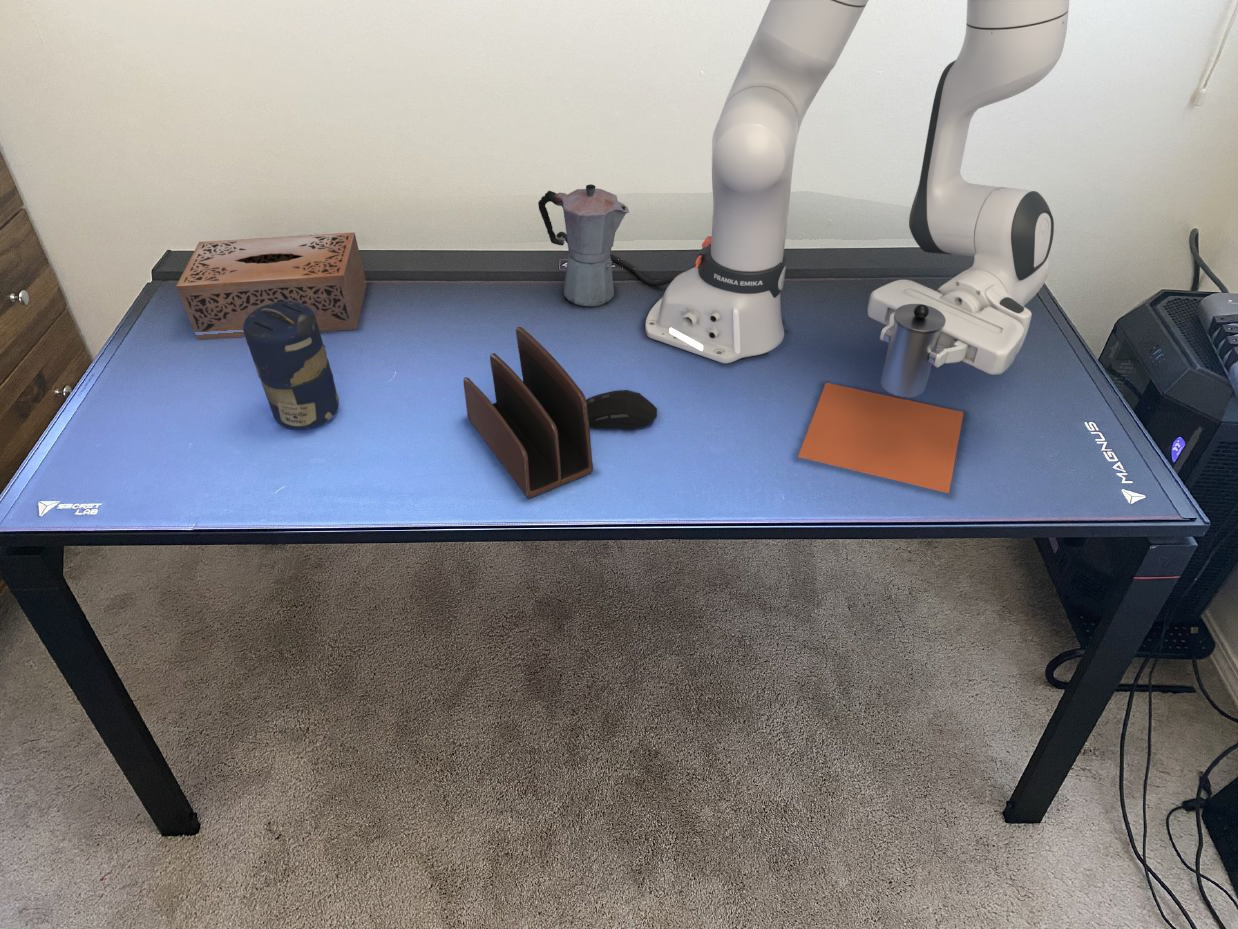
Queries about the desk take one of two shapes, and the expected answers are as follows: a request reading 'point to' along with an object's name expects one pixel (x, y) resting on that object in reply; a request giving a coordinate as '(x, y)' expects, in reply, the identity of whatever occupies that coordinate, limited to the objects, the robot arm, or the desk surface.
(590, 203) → the moka pot
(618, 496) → the desk surface
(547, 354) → the letter holder
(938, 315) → the pot
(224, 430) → the desk surface
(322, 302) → the tissue box cover
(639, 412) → the gaming mouse
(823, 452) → the napkin
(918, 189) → the robot arm
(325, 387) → the canister
